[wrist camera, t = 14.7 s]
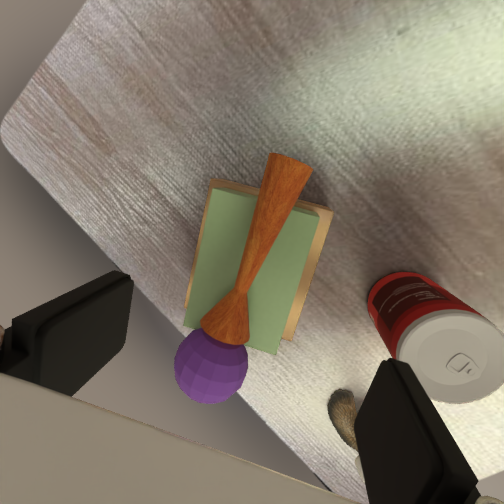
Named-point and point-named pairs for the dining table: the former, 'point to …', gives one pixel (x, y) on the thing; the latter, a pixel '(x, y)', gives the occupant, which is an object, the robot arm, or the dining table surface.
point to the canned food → (438, 338)
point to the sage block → (268, 277)
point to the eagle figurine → (345, 420)
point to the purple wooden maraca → (238, 294)
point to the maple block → (312, 258)
